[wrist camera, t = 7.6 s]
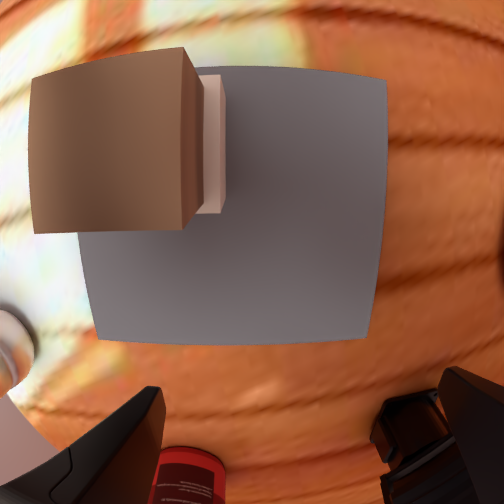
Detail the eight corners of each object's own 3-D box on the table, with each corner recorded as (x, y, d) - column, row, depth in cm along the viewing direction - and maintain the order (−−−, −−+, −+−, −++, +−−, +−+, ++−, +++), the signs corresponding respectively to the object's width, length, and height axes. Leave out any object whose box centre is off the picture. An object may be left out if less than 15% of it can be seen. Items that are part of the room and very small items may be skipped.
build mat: (382, 81, 16) (386, 80, 16) (363, 333, 22) (366, 337, 21) (77, 88, 16) (73, 86, 15) (101, 335, 21) (98, 339, 20)
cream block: (225, 97, 16) (220, 74, 11) (225, 198, 18) (220, 213, 13) (126, 105, 16) (90, 90, 11) (128, 201, 17) (92, 217, 13)
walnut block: (204, 87, 11) (183, 47, 7) (203, 203, 13) (181, 230, 8) (96, 99, 11) (32, 79, 6) (97, 207, 13) (34, 233, 8)
